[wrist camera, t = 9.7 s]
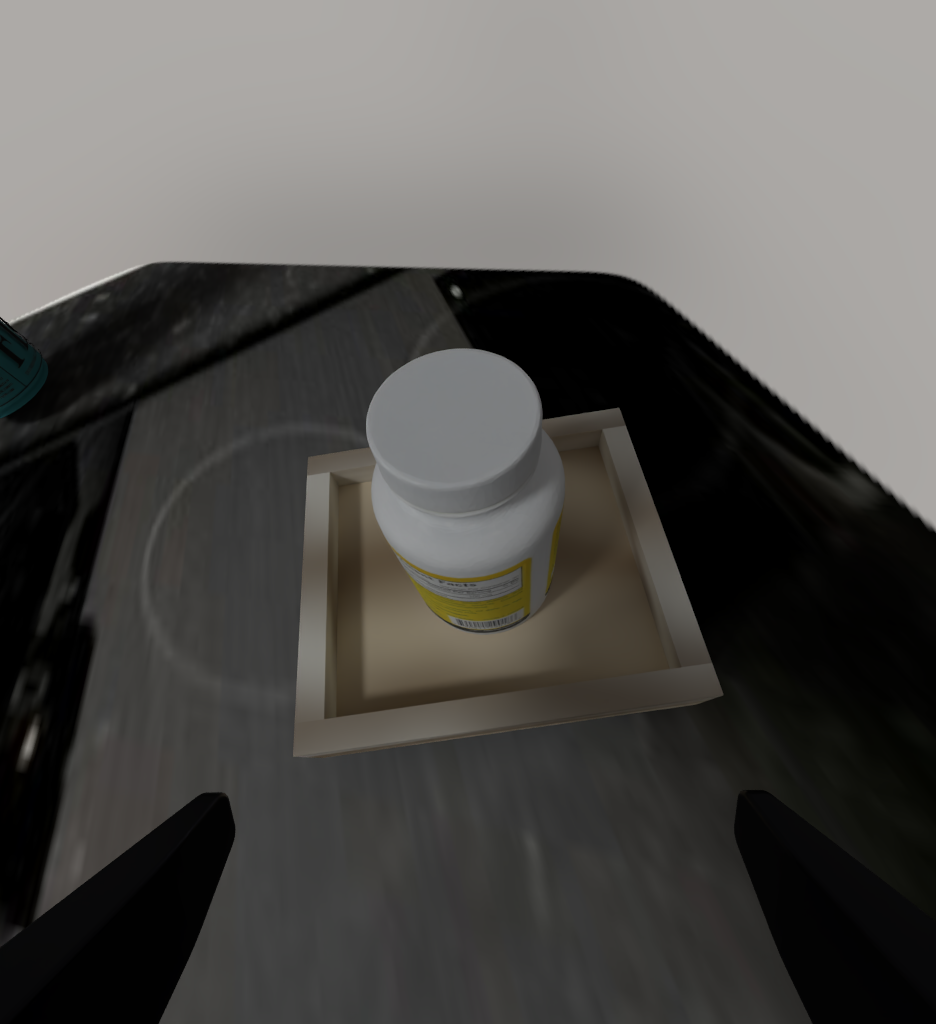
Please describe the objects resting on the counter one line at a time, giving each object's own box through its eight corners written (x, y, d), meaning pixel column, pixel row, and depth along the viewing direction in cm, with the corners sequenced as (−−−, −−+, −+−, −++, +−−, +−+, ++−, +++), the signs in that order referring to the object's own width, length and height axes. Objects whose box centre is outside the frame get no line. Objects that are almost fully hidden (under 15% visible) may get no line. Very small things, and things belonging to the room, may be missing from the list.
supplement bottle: (482, 489, 21) (457, 295, 12) (580, 567, 19) (632, 399, 10) (390, 574, 19) (287, 420, 11) (485, 669, 17) (453, 573, 9)
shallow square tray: (679, 710, 19) (723, 695, 15) (340, 758, 19) (292, 756, 15) (602, 467, 25) (619, 407, 21) (342, 507, 25) (308, 457, 21)
